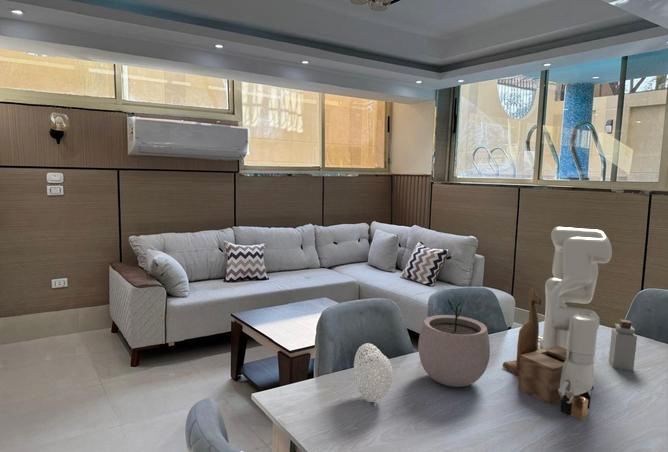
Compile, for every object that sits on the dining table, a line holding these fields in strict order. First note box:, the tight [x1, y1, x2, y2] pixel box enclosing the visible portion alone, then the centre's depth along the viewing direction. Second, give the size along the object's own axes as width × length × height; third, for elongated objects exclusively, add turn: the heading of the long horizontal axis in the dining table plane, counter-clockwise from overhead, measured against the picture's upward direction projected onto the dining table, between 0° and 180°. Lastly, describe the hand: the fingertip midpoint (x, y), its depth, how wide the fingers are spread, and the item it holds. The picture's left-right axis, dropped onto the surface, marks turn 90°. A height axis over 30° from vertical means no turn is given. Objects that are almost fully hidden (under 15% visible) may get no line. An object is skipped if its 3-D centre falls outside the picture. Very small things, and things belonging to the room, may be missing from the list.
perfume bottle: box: [608, 318, 638, 371], centre depth 174 cm, size 7×7×18 cm
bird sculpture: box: [502, 287, 542, 377], centre depth 164 cm, size 11×12×32 cm
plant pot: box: [417, 299, 491, 388], centre depth 155 cm, size 24×24×30 cm
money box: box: [517, 346, 570, 406], centre depth 152 cm, size 12×20×12 cm, turn 120°
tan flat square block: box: [566, 391, 588, 421], centre depth 137 cm, size 6×2×6 cm, turn 30°
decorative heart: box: [353, 342, 394, 410], centre depth 140 cm, size 18×11×17 cm, turn 16°
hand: (574, 410), depth 137 cm, fingers open, 8 cm apart
